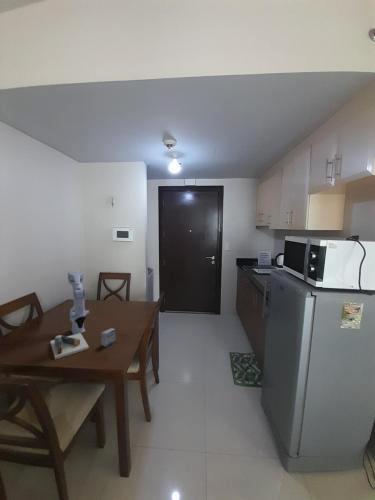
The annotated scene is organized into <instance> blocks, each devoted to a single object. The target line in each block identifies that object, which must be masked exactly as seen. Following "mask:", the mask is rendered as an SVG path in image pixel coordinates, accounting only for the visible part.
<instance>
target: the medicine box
mask: <svg viewBox="0 0 375 500" xmlns="http://www.w3.org/2000/svg"><path fill="white" fill-rule="evenodd" d="M100 335H101V337H100V338H101V339H100V340H101V346H104V347H109V346H111V345H112V344H114V343H116V341H117V340H116V329H115V328H112V327H110V328H108V329H106V330H103V331H102V332H100Z"/></svg>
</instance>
